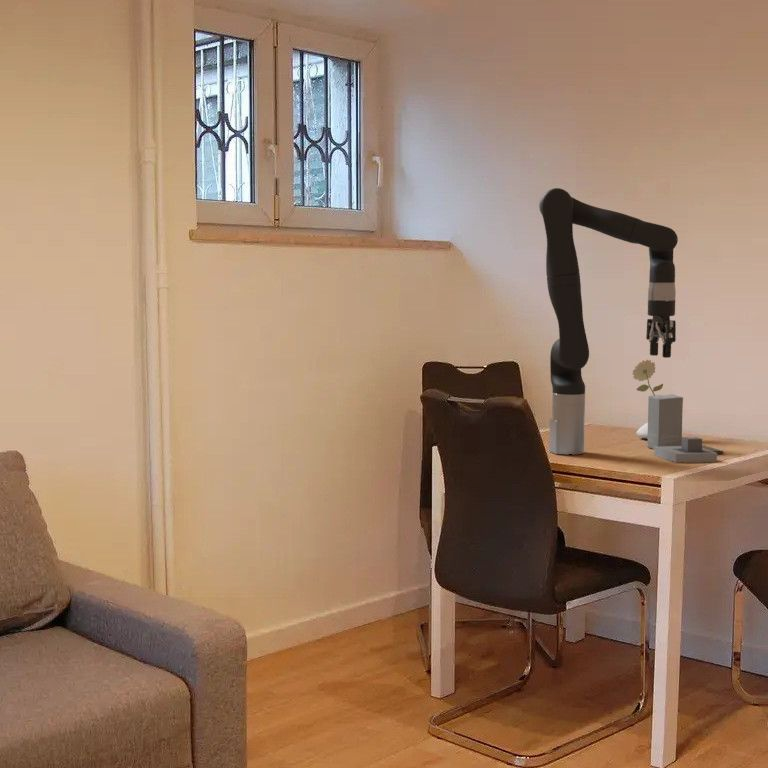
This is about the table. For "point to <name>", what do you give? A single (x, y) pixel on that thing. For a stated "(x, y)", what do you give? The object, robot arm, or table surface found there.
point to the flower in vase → (645, 387)
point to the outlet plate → (684, 454)
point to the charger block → (691, 444)
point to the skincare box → (664, 421)
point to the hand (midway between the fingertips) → (660, 356)
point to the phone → (712, 449)
